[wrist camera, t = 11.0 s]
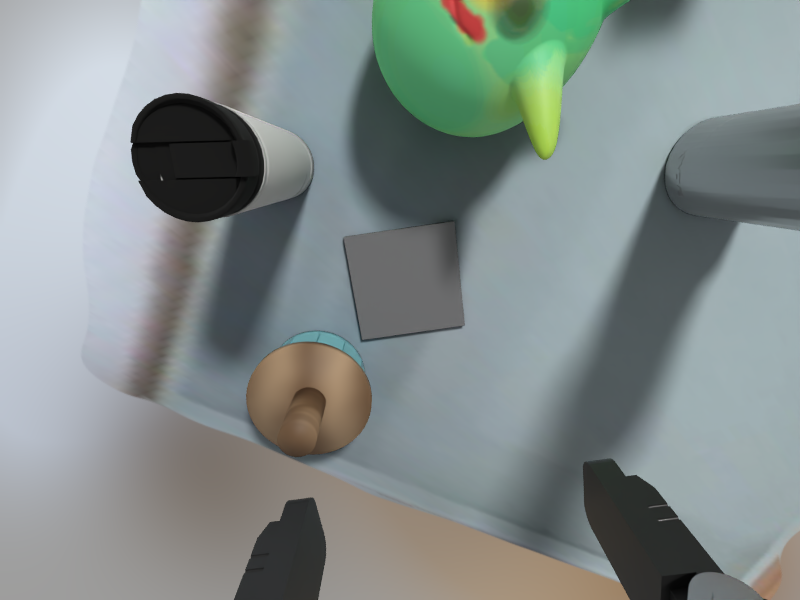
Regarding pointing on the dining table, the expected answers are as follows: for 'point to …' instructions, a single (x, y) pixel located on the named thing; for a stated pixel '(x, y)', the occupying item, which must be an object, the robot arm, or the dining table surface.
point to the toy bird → (485, 61)
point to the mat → (406, 280)
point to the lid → (309, 398)
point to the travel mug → (214, 159)
